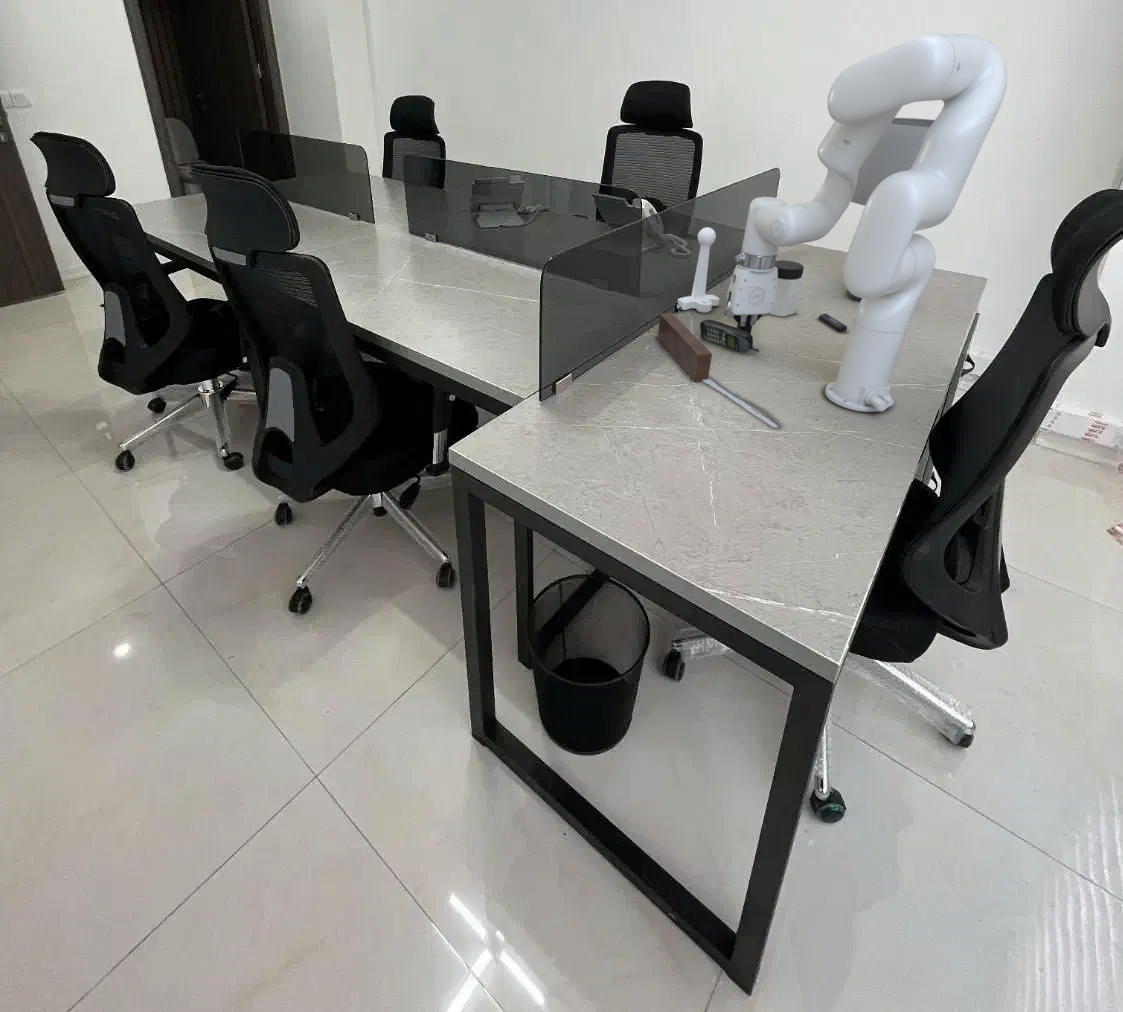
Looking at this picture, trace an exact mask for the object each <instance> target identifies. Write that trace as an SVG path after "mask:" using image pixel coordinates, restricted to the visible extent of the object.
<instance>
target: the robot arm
mask: <svg viewBox="0 0 1123 1012" xmlns="http://www.w3.org/2000/svg"><path fill="white" fill-rule="evenodd" d="M1007 84H1008V70H1007V65H1006V61H1005V59H1004V57H1003V54H1002V53H1001V52H1000V50H999V48H997V46H996V45H995V44H993V43H992V42H991V41H989V40H988V39H986V38H984V37H981V36H977V35H974V34H968V33H926V34H922V35H921V34H919V35H917V36H914V37H911V38H909V39H906V40H903V41H902V42H899V43H897V44H895V45H893V46H891V47H889V48H887V49H883V50H882V51H880V52H877V53H875V54H873V55H870V56H869V57H865V58H864V59H861V60H859V61H857V62H855V63H853V64H851V65H849V66H848V67H847V68H845V69H844V70H843V71H842V72H841V73H839V75H838V76H837V77H836V78H835V80H833V83H832V85H831V86H830V89H829V92H828V95H827V100H826V101H827V102H826V104H827V110H828V114H829V116H830V117H831V119H832V120H833V123H832V124H831V126H830V127H829V129H828V131H827V133H826V134H825V135H824V137H823V139H822V140H821V142H820V143H819V145H818V147H817V157H818V160H819V161H820V162H821V164H822V165H823V166H824V167H825V168H826V169H827V173H826V176H825V179H824V180H823V183H822V184H821V186H820V187H819V189H818V191H817V192H816V193H815V195H814V197H813V198H812V200H811V201H809V202H802V203H796V204H791V205H787V203H786V201H785V200H784V199H781V198H778V197H773V196H759V197H755V198H753V199H752V201H751V202H750V203H749V207H748V213H747V218H746V223H745V228H744V235H743V239H742V245H741V250H740V252H739V254H738V255H735V256H734V258H733V259H734V262H735V263H738V264H736V265H735V268H734V270H733V273H732V275H731V277H730V281H729V284H728V289H727V293H726V299H725V310H724V314H723V316H724V317H725V318H727V319H733V320H734V321H735V322H736V323H737V325H736V328H739V329H741V330H743V331H746V332H748V333H750V334H751V335H752V329H753V327H754V326H755V325H756V323H757V322H758V321H759V320H760V319H761V318H764V317H768V316H770V312H771V311H772V310H773V308H774V304H775V298H776V291H777V279H778V268H777V267H775V261H777V256H778V251H779V247H782V248H784V247H785V248H787V247H792V246H796V245H797V246H798V245H800V244H805V243H810V242H815V241H818V240H821V239H822V238H824V237H825V236H826V235H828V234H829V233H830V232H831V231H832V230H833V228H834V227H835V226H836V224H837V223H838V222H839V221H840V219H841V218H842V216H843V215H844V213H845V212H846V211H847V209H848V208H849V206H850V204H851V203H852V202H851V200H852V198H853V195H854V191H855V188H856V184H857V177H858V171H859V169H860V167H861V166H862V164H863V163H864V161H865V160H866V158H867V157H868V155H869V154H870V152H871V151H872V150H873V148H874V147H875V145H876V144H877V142H878V141H879V139H880V138H881V137H882V135H883V134H884V132H885V131H886V129H887V128H888V126H889V125H890V124H891V122H892V121H893V119H894V118H896V116H897V115H898V114H899V112H900V111H901V109H902V107H903V106H907V105H909V104H913V103H919V102H931V101H932V102H933V101H942V102H943V106H942V109H941V111H940V112H939V113H938V115H937V116H936V118H935V119H934V120H935V121H934V122H933V124H932V125H931V127H930V128H929V130H928V132H927V134H926V136H925V138H924V140H923V143H922V146H921V148H920V151H919V153H918V155H917V158H916V160H915V162H914V164H913V166H912V167H911V169H910V170H906V171H901V172H897V173H895V174H892V175H890V176H888V177H887V178H885V179H884V180H883V181H882V182H881V183H880V184H879V185H878V186H877V187H876V188H875V189H874V191H873V192H872V194H871V195H870V197H869V199H868V201H867V203H866V205H865V206H864V208H863V210H862V213H861V216H860V219H859V221H858V224H857V225H856V226H857V227H856V229H855V232H854V234H853V237H852V240H851V243H850V245H849V248H848V250H847V253H846V255H845V259H844V262H843V268H842V277H843V283H844V285H845V288H846V290H847V289H848V291H849V292H850V293H851V294H853V295H854V296H856V297H859V298H862V300H861V301H859V303H858V304H859V305H858V306H857V310H856V313H855V316H854V319H853V322H852V326H851V329H850V332H849V337H848V339H847V343H846V346H845V350H844V353H843V357H842V360H841V363H840V366H839V369H838V373H837V377H836V379H835V380H833V381H831V382H829V383H827V385H826V386H825V390H824V395H825V396H826V398H827V399H828V401H830V402H832V404H833V403H834V404H835V405H837V406H839V407H842V408H844V409H848V410H852V411H855V412H864V413H876V412H885V411H886V409H888V408H890V407H892V406H893V405H894V404H895V400H894V399H893V398H892V395H891V394H890V390H891V388H892V387H891V386H890V385H889V384H890V381H891V377H892V375H893V372H894V369H895V366H896V363H897V361H898V358H899V355H900V352H901V350H902V346H903V343H904V341H905V337H906V335H907V332H908V330H909V327H910V324H911V320H912V318H913V316H914V313H915V310H916V308H917V305H918V303H919V301H920V299H921V297H922V294H923V293H924V291H925V289H926V287H927V285H928V283H929V282H930V279H931V277H932V275H933V272H934V269H935V265H936V257H937V256H936V250H935V247H934V245H933V243H932V241H930V240H929V238H927V237H926V236H924V235H922V234H919V233H916V232H918V231H923V230H927V229H932V228H934V227H936V226H939V225H940V224H942V223H943V222H944V221H946V220H947V219H948V218H949V217H950V215H951V214H952V212H953V210H954V208H955V206H956V204H957V202H958V199H959V198H960V195H961V193H962V191H963V189H964V186H965V184H966V182H967V180H968V178H969V175H970V174H971V172H972V169H973V167H974V164H975V162H976V160H977V158H978V156H979V153H980V150H981V148H982V146H983V144H984V142H985V140H986V138H987V136H988V134H989V132H990V130H991V127H992V126H993V123H994V121H995V119H996V118H997V115H998V113H999V111H1000V108H1001V106H1002V104H1003V101H1004V98H1005V94H1006V90H1007Z"/></svg>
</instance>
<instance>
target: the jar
mask: <svg viewBox="0 0 1123 1012" xmlns="http://www.w3.org/2000/svg"><path fill="white" fill-rule="evenodd" d="M775 267H777V268H778V279H777V291H776V298H775V304H774V308H773V310H772V311H771V312H770V314H769V316H770V315H771V316H777V317H786V316H791V315H794V314H795V313H796V311H797V310H796V309H797V305H798V300H799V297H800V293H801V288H802V284H803V279H804V278H803V274H804V269H805V267H804V265H803V264H802V263H800V262H797V261H794V260H793V261H792V260H787V259H786V260H781V259H780V260H776V261H775Z"/></svg>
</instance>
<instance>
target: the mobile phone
mask: <svg viewBox="0 0 1123 1012" xmlns="http://www.w3.org/2000/svg"><path fill="white" fill-rule="evenodd" d="M699 331H700V338H701V339H703V340H704V341H708V342H711V343H714V344H717V345H719V346H722V347H725V348H727V349H730V350H731V351H735V352H743V353H747V352H750V351H752V352H754V353H755V352H756V353H759V352H760V349H758V348H755V347H754V337H753V335H752V333H751V334H750V333H748V332H746V331H743V330H741V329H739V328H737V326H733V325H729V324H726V323H723V322H721V321H717V320H715V319H703V320H701V321H700V323H699Z"/></svg>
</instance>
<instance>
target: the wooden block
mask: <svg viewBox="0 0 1123 1012" xmlns="http://www.w3.org/2000/svg"><path fill="white" fill-rule="evenodd" d="M658 321H659V322H658V330H657V340H658V342H660V343H661V344H662V346H664V348H665V349H666V351H668V353H670V355H671V356H672V357H673V358H674V359H675V361H676V362H677V363H678V364H679V365H680V366H681V368H682V369H683V370H684V371H685V372H686V373H687V374H688V375H689V377H690V378H691V379H692V381H694V382H703V381H702V380H704V379H708V378H709V376H710V371H711V370H710V369H711V364H712V359H713V353H712V352H711V350H709V349H708V348H707V347H706V346H705V344H704V343H702V342H701V341H700V340H699V338H698V337H696V336H695V335H694V333H693V332H692V331H691V330H690V329H689V328H688V327H687V326H686V325H685V324H683V322H682V321H681V320H680V319H679V318H678V317H677V316H676V315H675V314H673V312H669V313H667V312H666V313H660V314H659V320H658Z"/></svg>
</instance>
